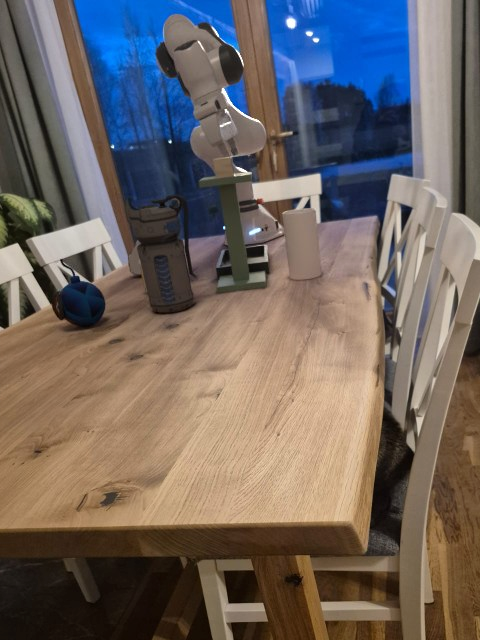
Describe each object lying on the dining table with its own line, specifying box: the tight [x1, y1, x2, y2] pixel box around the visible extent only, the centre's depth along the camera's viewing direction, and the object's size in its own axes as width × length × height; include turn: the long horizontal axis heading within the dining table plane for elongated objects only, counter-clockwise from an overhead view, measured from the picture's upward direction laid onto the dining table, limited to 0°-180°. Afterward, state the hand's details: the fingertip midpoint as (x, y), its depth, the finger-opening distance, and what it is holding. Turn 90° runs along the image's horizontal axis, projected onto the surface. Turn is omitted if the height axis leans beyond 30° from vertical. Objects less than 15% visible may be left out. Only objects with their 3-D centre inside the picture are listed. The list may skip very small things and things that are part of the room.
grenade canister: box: [124, 194, 198, 314], centre depth 129 cm, size 10×13×25 cm
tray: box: [215, 244, 271, 281], centre depth 166 cm, size 26×14×3 cm, turn 3°
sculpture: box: [127, 239, 141, 276], centre depth 176 cm, size 11×18×12 cm
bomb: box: [50, 258, 106, 327], centre depth 126 cm, size 10×11×15 cm
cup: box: [281, 207, 323, 281], centre depth 145 cm, size 8×8×16 cm
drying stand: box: [198, 171, 267, 294], centre depth 142 cm, size 12×12×26 cm
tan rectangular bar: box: [213, 156, 235, 179], centre depth 141 cm, size 22×4×4 cm, turn 3°
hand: (232, 157), depth 165 cm, fingers open, 8 cm apart
